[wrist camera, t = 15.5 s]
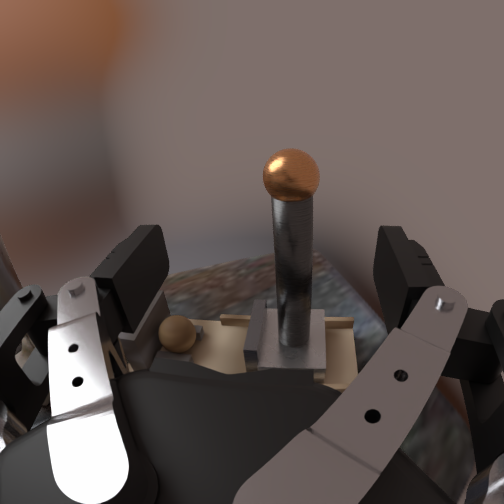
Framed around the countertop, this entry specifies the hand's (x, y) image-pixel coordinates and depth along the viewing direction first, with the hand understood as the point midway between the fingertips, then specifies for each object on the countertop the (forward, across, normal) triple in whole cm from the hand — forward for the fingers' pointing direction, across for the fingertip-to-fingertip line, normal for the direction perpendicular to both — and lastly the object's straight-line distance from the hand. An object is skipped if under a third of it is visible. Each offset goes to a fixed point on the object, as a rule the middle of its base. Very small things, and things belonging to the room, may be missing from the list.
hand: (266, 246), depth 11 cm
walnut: (+12, +11, +19) cm, 25 cm away
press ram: (+11, 0, +19) cm, 22 cm away
